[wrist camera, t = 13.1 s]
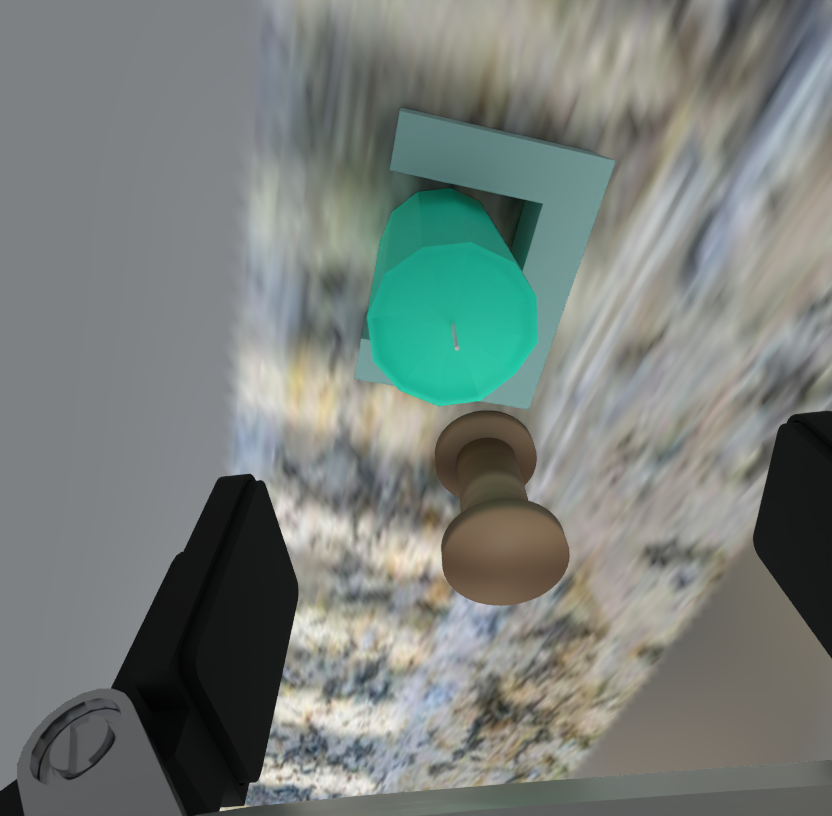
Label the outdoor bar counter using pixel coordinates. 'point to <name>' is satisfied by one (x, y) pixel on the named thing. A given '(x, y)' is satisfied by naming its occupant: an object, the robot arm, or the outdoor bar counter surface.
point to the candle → (448, 301)
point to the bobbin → (496, 513)
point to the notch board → (539, 223)
